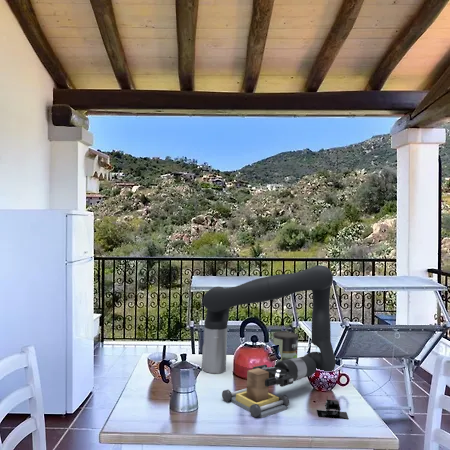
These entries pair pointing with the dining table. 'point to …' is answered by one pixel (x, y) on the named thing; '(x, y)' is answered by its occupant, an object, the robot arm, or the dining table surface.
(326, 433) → the dining table surface
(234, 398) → the chassis
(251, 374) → the brown wooden block
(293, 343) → the coffee can
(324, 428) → the dining table surface
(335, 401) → the black angular machine part
